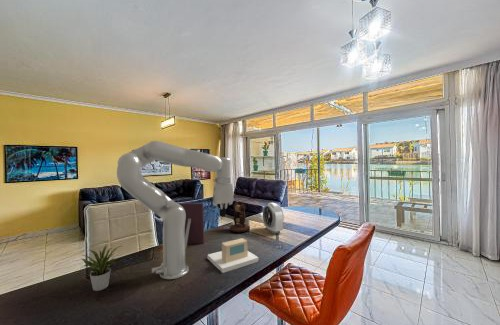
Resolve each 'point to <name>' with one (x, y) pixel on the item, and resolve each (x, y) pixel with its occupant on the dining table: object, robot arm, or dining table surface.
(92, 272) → the house plant
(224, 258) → the carton
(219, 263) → the display podium
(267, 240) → the dining table surface
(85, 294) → the dining table surface
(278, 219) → the alarm clock
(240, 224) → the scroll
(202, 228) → the picture frame
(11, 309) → the dining table surface
